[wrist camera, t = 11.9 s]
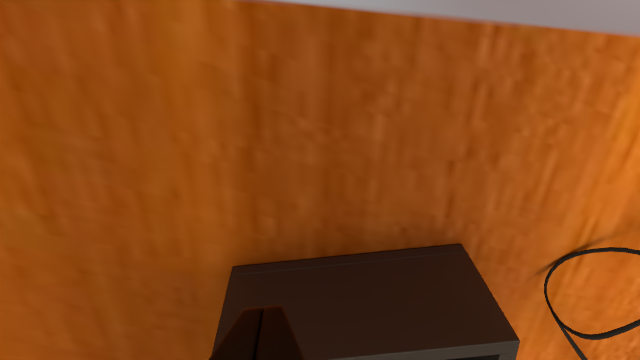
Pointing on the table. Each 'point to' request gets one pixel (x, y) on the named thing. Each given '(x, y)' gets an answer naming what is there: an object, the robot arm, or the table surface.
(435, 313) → the case
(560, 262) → the glasses
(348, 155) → the table surface
